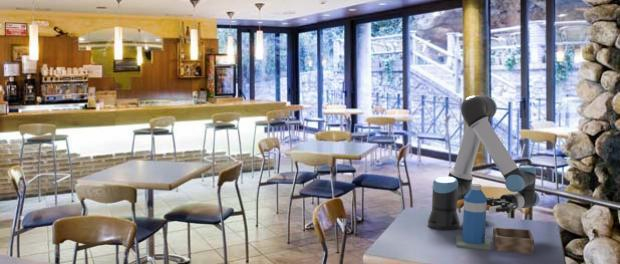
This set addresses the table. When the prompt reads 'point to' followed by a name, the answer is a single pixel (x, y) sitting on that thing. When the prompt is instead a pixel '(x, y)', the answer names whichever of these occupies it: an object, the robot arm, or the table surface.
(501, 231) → the wooden frame
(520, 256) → the table surface
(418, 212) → the table surface
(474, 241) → the water bottle
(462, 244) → the mat
